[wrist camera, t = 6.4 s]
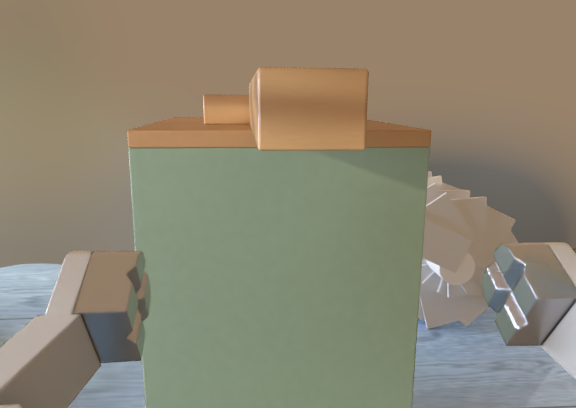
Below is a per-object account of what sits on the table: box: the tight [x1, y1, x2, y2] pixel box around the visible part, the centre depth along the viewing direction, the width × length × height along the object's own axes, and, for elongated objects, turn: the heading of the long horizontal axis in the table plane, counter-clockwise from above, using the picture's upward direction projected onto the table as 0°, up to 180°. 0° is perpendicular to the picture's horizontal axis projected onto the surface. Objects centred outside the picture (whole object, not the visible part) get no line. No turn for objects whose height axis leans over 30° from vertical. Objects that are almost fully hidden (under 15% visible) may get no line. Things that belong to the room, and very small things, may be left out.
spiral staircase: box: [418, 171, 518, 329], centre depth 65 cm, size 18×18×25 cm
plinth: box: [127, 117, 431, 408], centre depth 32 cm, size 15×14×26 cm
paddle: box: [203, 67, 369, 151], centre depth 24 cm, size 23×8×2 cm, turn 5°
